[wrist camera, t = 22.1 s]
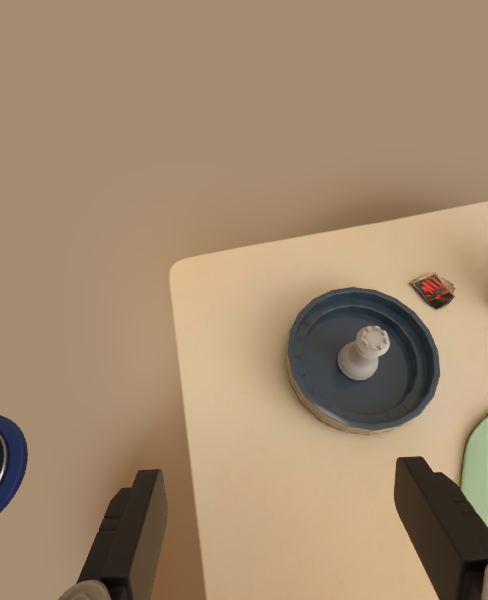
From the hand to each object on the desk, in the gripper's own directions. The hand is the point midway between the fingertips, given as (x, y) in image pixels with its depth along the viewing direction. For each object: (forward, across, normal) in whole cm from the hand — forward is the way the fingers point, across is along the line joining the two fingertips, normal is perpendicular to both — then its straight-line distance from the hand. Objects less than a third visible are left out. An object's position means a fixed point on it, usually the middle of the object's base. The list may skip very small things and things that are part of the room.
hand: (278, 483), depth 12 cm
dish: (+29, -12, +11) cm, 33 cm away
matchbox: (+36, -24, +5) cm, 43 cm away
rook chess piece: (+29, -12, +11) cm, 33 cm away
